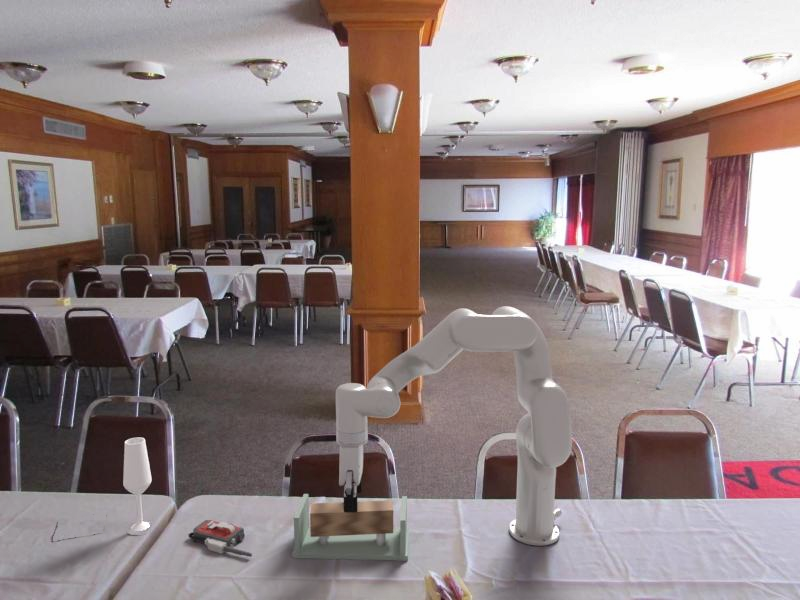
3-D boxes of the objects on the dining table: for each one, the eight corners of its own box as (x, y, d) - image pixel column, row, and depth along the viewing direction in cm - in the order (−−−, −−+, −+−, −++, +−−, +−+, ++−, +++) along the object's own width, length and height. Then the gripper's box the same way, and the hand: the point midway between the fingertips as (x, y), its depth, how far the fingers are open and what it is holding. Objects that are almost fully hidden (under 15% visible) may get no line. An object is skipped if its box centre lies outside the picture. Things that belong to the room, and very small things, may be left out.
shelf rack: (409, 533, 153) (409, 496, 151) (407, 560, 141) (408, 520, 140) (302, 530, 154) (301, 493, 153) (292, 557, 142) (291, 517, 141)
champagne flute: (120, 532, 153) (114, 443, 149) (140, 520, 159) (135, 434, 155) (140, 538, 150) (134, 447, 147) (160, 525, 156) (155, 438, 153)
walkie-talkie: (182, 545, 148) (248, 563, 141) (181, 528, 147) (248, 545, 140) (206, 527, 156) (270, 544, 149) (205, 512, 155) (269, 527, 148)
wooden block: (310, 536, 143) (310, 513, 143) (311, 526, 148) (311, 503, 148) (393, 533, 145) (393, 510, 144) (391, 522, 150) (391, 500, 149)
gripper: (341, 422, 152) (342, 485, 155) (331, 449, 135) (332, 519, 138) (370, 422, 152) (371, 485, 154) (363, 449, 135) (364, 520, 137)
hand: (353, 501), depth 146 cm, fingers open, 9 cm apart
